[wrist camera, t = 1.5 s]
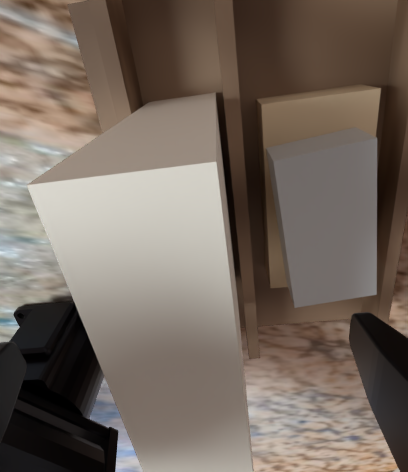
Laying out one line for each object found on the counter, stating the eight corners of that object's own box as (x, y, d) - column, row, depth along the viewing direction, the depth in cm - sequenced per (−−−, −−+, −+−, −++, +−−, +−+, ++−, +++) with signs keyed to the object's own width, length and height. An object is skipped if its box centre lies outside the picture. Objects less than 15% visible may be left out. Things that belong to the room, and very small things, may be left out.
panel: (235, 276, 19) (256, 497, 10) (184, 281, 20) (155, 500, 10) (215, 92, 15) (216, 162, 5) (149, 101, 15) (27, 185, 5)
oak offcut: (346, 259, 18) (360, 280, 17) (265, 266, 19) (270, 288, 17) (360, 84, 14) (380, 88, 12) (256, 99, 15) (261, 104, 13)
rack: (360, 301, 22) (388, 348, 18) (160, 318, 23) (150, 365, 19) (400, -46, 13) (467, -84, 10) (80, 9, 15) (37, -7, 11)
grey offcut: (359, 269, 16) (376, 294, 15) (286, 281, 17) (294, 307, 15) (355, 127, 13) (377, 137, 11) (266, 147, 14) (273, 161, 12)
